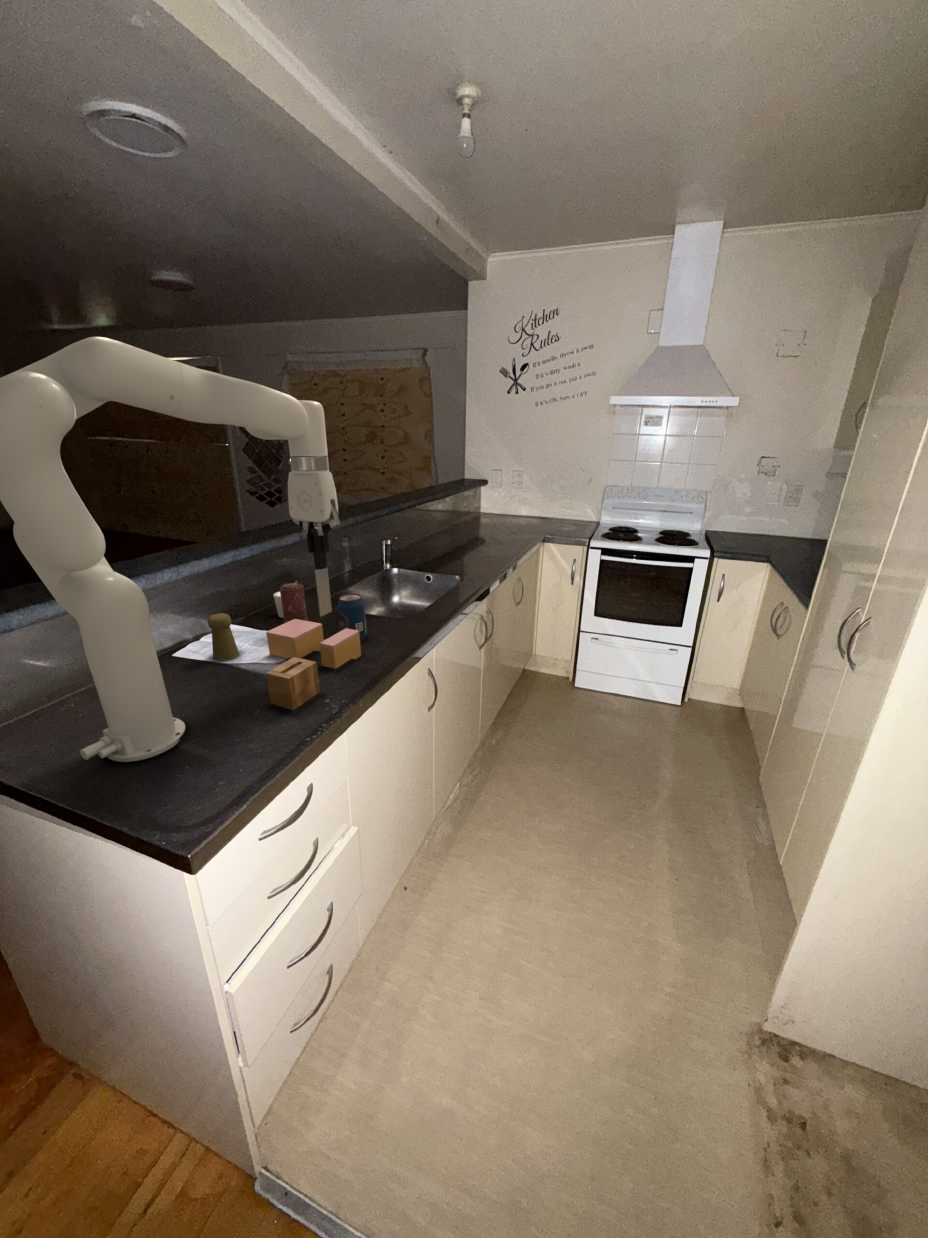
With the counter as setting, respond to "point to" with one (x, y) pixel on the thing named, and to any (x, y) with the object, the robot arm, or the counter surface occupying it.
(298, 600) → the can
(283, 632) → the cake
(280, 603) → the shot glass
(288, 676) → the knife block
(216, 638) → the olive pepper shaker
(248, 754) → the counter surface
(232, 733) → the counter surface
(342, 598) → the soda can
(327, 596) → the knife
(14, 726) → the counter surface
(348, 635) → the cake slice
